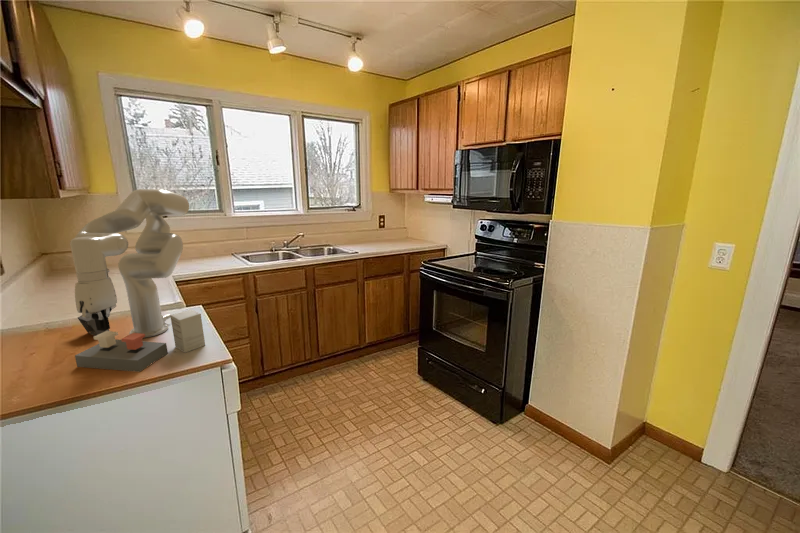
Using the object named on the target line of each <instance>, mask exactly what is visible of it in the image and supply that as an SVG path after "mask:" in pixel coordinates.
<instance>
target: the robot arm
mask: <svg viewBox="0 0 800 533" xmlns="http://www.w3.org/2000/svg"><path fill="white" fill-rule="evenodd" d="M189 211H190V203H189V202H188V199H187V198H186V197H185V196H184V195H182V194H179V193H176V192H172V191H169V190H164V189H151V188H150V189H148V188H147V189H145V188H142V189H135V190H133V191H132V192H130V193H129V194H128V196H127V197H126V198H125V199H124V200H123V201H122V202H121V203H120V205H119V206H118V207H117V208H116V209H115V210H113V211H111V212H108V213H106V214H103V215H101V216H99V217H97V218H94V219H93V220H91V221H89V222H87V223H86V224H85V225H84V226H83V227H82V228H81V229H79V231H78V232H77V234H76V235H75V237H74V238H72V239H70V241H69V246H70V251H71V256H72V260H73V266H74V270H75V274H76V279H77V282H75V285H74V298H75V299H74V302H75V306H76V311H77V313H80V314H81V315H82V318H92V319H93V320H95V323H96V328H97V330H99V331H106V330H108V329H109V330H110V329H111V327H110V326H111V324H110V322H109V318H110V316H111V312H112V310H114V309H115V308H116V307H117V303H118V297H117V292H116V288H115V285H114V283H113V281H112V279H111V277H110V276H109V273H110V269H109V268H108V266H107V261H106V258H107V257H112V256H114V257H115V256H120V255H123V253H125V252H126V251H127V250H128V248H129V241H128V238H127V237H126V236H124V235H123V234H121V233H122V232H127V231H130V230H133V229H136V228H138V227H139V226H140V225H142V223H143V222H144V220H145V221H146V223H145V226H144V228H143V230H142V232H141V233H140V234H139V237H138V238H137V240H136V242H135V246H134V249H135V252H136V253H135V252H133V253H128V254H124V255H123V256H122V257H120V259H119V260H118V263H117V267H118V271H119V274H120V276H121V278H122V280H123V282H124V285H125V286H124V287H125V289H126V293H127V294H126V295H127V301H128V305H129V311H130V317H131V321H132V327H133V328H132V329H131V330H130V331H129V333H128V335H130V334H132V333H141V334H145V337H144V338H143V339H145V338H152V337H155V336H158V335H161V334H162V333H165V332H166V331H168V329H169V324H168V323H166V321H167V320H169V319H171V317H170V315H171V314H170V313H166V314H165V315H163V314H162V308H161V302H160V297H159V289H158V287H157V284H156V283H155V281H154V280H153V279H166V278H168V277H170V276H171V275H172V274H173V273H174V270H175V268H176V267H177V264H178V262H179V260H180V258H181V255H182V253H183V249H184V243H183V242H184V241H183V240H182V237H181V236H180V235H178V234H177V233H174V232H173V233H172V232H171V227H170V225H169V223H168V222H167V220H165V219H164V216H172V217H173V216H174V217H175V216H177V217H179V216H185V215H186V214H187V213H188V212H189Z"/></svg>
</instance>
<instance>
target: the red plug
mask: <svg viewBox="0 0 800 533" xmlns="http://www.w3.org/2000/svg"><path fill="white" fill-rule="evenodd" d="M144 337H145V334H141V333H132V334H128V335H127V336H124V337H122V338H121V339H120V340H122V342H126V345H127V349H132V350H136V349H138V348H140V347H142V346H143V342H142V341H143V339H145V338H144Z"/></svg>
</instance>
